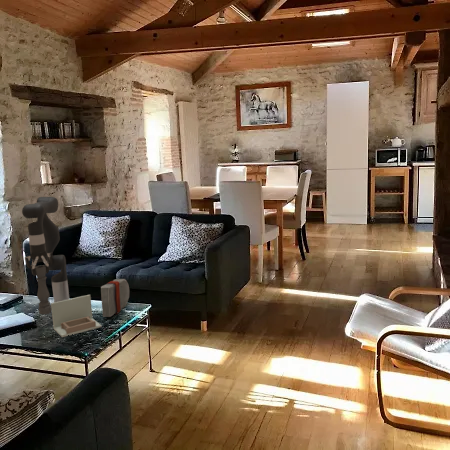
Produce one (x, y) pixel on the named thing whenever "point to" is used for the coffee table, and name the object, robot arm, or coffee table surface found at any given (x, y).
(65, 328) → the board
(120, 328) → the coffee table surface
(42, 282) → the candle holder
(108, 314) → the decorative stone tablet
